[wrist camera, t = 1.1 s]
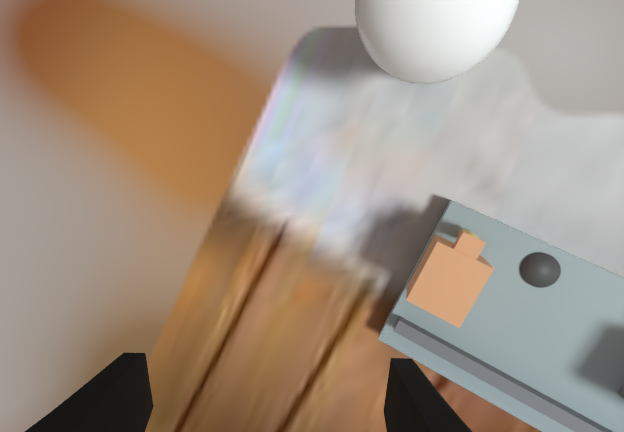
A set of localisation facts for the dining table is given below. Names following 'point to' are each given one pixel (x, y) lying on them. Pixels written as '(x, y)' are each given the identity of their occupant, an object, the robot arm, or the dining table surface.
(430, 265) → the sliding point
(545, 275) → the gauge board
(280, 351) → the dining table surface
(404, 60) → the lightbulb
